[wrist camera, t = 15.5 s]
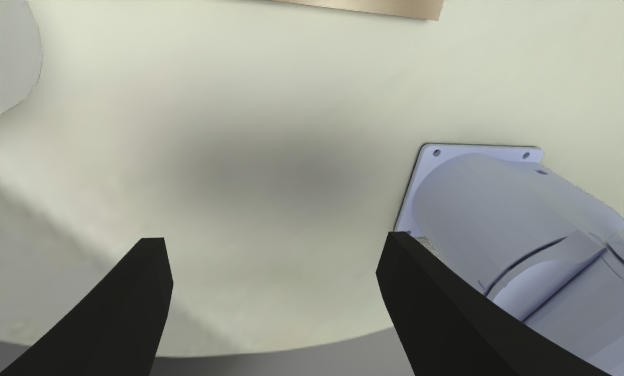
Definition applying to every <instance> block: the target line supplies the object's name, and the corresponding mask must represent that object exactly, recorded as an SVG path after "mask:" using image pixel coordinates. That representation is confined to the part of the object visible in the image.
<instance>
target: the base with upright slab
mask: <svg viewBox="0 0 624 376" xmlns="http://www.w3.org/2000/svg"><path fill="white" fill-rule="evenodd" d="M42 57H43V53H42V47H41V41H40V35H39V29H38V26H37V24H36V21H35V19H34V17H33V14H32V12H31V10H30V7H29V5H28V3H27V0H0V114H1V113H3V112H5V111H7V110H9V109H11V108H13V107H14V106H15V105H17V104H18V103H19V102H21V101H22V100H24V99H25V98H26V97H28V96H29V94H30V93H31V91H32V89H33V88H34V86H35V84H36V83H37V81H38V79H39V77H40V71H41V64H42Z"/></svg>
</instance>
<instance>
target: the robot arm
mask: <svg viewBox="0 0 624 376" xmlns="http://www.w3.org/2000/svg"><path fill="white" fill-rule="evenodd" d="M435 150H438V151H437V152H436V153H435V154H433V153H434V151H435ZM543 155H544V151H543V150H542V149H540V148H538V147H510V146H481V145H452V144H426V145H425V146H423V147H422V149H421V151H420V154H419V157H418V160H417V163H416V166H415V169H414V172H413V175H412V178H411V181H410V184H409V188H408V191H407V194H406V197H405V200H404V203H403V206H402V209H401V212H400V215H399V218H398V221H397V224H396V227H395V230H394V232H389V233H388V236H387V239H386V242H385V245H384V248H383V251H382V255H381V258H380V261H379V264H378V267H377V270H376V276H377V280H378V283H379V287H380V291H381V294H382V297H383V300H384V303H385V305H386V308H387V310H388V313H389V315H390V317H391V320H392V322H393V324H394V327H395V329H396V331H397V334H398V336H399V338H400V341H401V343H402V345H403V348H404V350H405V352H406V354H407V357H408V359H409V362H410V364H411V367H412V369H413V372H414V374H415V376H624V219H623V218H622V216H621V215H620V214H619V213H618V212H616V211H615V210H614V209H613V208H611V207H610V206H608V205H607V204H605V203H603V202H602V201H600V200H598V199H597V198H595V197H593V196H592V195H590V194H589V193H587V192H585V191H584V190H582V189H580V188H579V187H577V186H575V185H574V184H572V183H571V182H569V181H567V180H566V179H564V178H562V177H561V176H559V175H557V174H556V173H554V172H553V171H551V170H549V169H548V168H546V167H544V166H543V165H541V164H539V162H540V161H541V159H542V157H543ZM406 231H407V232H406ZM413 237H426V238H427V239H428V241H429V242H430V244H431V245H432V247H433V248H434V249H435V251H436V252H437V254H438V255H439V257H440V258H441V260H442V261H443V262H444V263H443V262H441V261H440V260H439V259H438V258H437V257H436V256H434V255H433V254H432V253H431V252H430V251H428V250H427V249H426V248H425V247H424V246H423V245H421V244H420V243H419V242H418V241H417V240H415V239H414V238H413ZM172 289H173V279H172V274H171V269H170V264H169V260H168V255H167V250H166V245H165V240H164V238H141V239H140V240H139V241H138V242H137V243H136V244H135V245H134V246H133V247H132V248H131V250H130V251H129V252H128V253H127V254H126V255H125V256H124V257H123V258H122V259H121V260H120V261H119V262H118V263H117V265H116V266H115V267H114V268H113V269H112V270H111V271H110V272H109V273H108V274H107V275H106V276H105V277H104V278H103V279H102V280H101V281H100V282H99V283H98V284H97V285H96V286H95V287H94V288H93V289H92V290H91V291H90V292H89V293H88V294H87V295H86V296H85V297H84V298H83V299H82V300H81V301H80V302H79V303H78V304H77V305H76V306H75V307H74V308H73V309H72V310H71V311H70V312H69V313H68V314H67V315H65V316H64V317H63V318H62V319H61V320H60V321H59V322H58V323H57V324H56V325H55V326H54V327H53V328H52V329H50V330H49V331H48V332H47V333H46V334H45V335H44V336H43V337H42V338H40V339H39V340H38V341H37V342H36V343H35V344H34V345H33V346H31V347H30V348H29V349H28V350H27V351H26V352H25V353H23V354H22V355H21V356H20V357H19V358H17V359H16V360H15V361H14V362H13V363H11V364H10V365H9V366H8V367H7V368H5V369H4V370H3V371H2V372H1V373H0V376H149V374H150V371H151V367H152V365H153V361H154V358H155V355H156V352H157V349H158V345H159V342H160V339H161V336H162V332H163V329H164V326H165V323H166V319H167V316H168V311H169V306H170V301H171V295H172Z"/></svg>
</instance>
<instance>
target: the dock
mask: <svg viewBox="0 0 624 376" xmlns="http://www.w3.org/2000/svg"><path fill="white" fill-rule="evenodd" d="M272 1H280V2H288V3H296V4H305V5H313V6H321V7H329V8H338V9H346V10H354V11H362V12H371V13H379V14H387V15H395V16H404V17H412V18H420V19H428V20H436V21H438V19H439V16H440V12H441V9H442V5H443V2H444V0H272Z"/></svg>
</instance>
